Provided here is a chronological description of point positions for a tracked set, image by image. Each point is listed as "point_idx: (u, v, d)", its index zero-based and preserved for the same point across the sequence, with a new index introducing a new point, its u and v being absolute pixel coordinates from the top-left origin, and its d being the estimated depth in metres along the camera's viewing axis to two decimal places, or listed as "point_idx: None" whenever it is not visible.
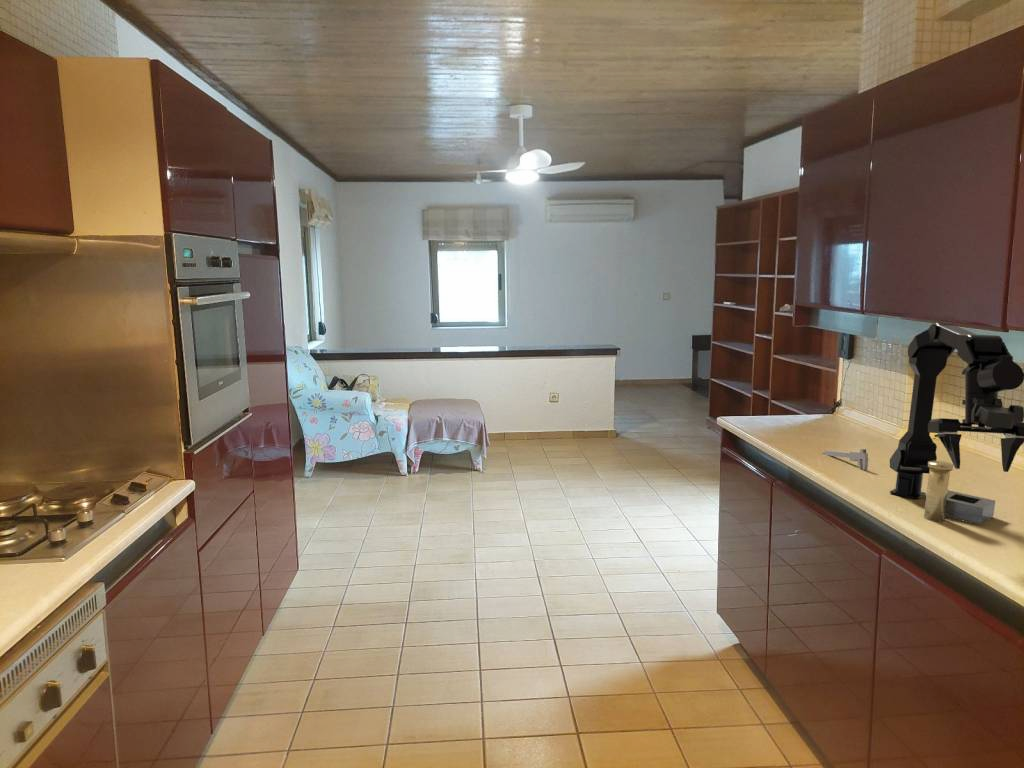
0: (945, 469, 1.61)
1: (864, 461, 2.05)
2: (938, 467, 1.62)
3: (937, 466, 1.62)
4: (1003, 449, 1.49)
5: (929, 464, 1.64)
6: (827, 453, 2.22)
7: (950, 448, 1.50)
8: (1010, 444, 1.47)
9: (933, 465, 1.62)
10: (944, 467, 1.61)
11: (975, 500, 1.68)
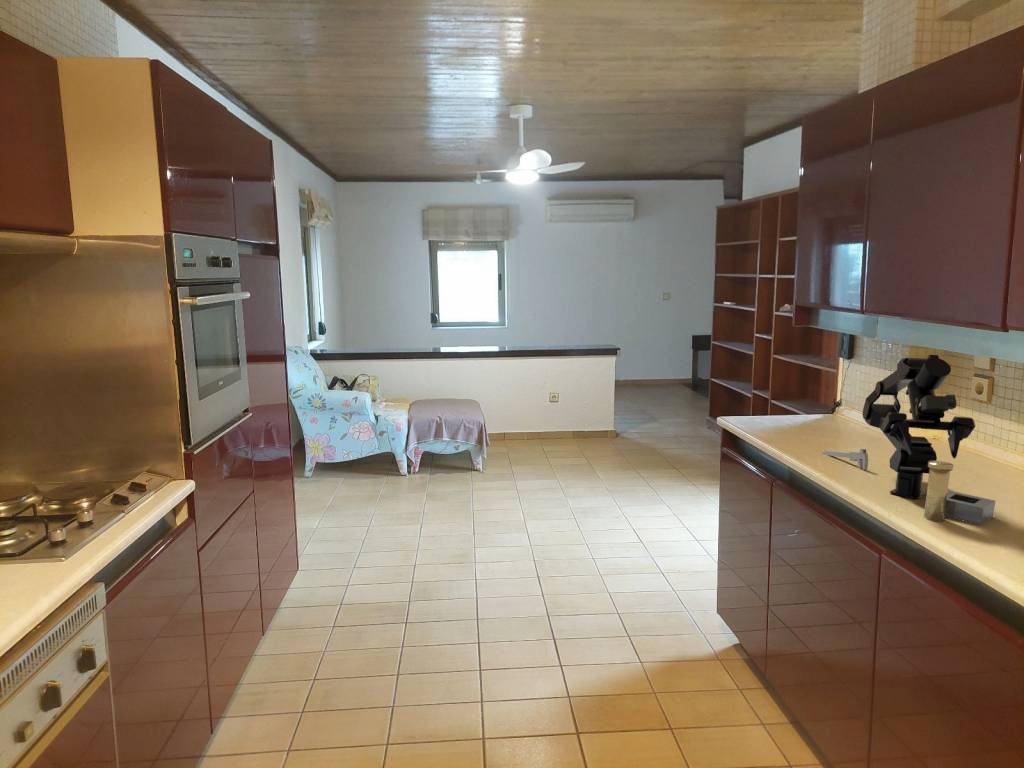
0: (945, 469, 1.61)
1: (864, 461, 2.05)
2: (938, 467, 1.62)
3: (937, 466, 1.62)
4: (950, 443, 1.71)
5: (929, 464, 1.64)
6: (827, 453, 2.22)
7: (903, 440, 1.72)
8: (954, 434, 1.69)
9: (933, 465, 1.62)
10: (944, 467, 1.61)
11: (975, 500, 1.68)
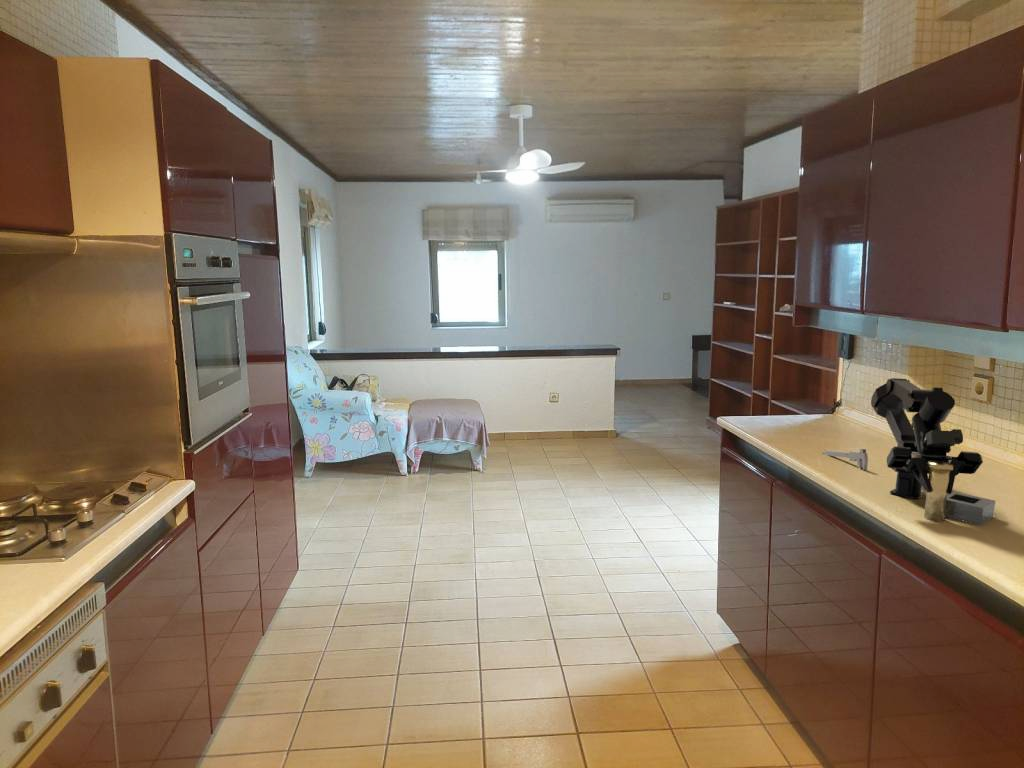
0: (945, 469, 1.61)
1: (864, 461, 2.05)
2: (938, 467, 1.62)
3: (937, 466, 1.62)
4: None
5: (929, 464, 1.64)
6: (827, 453, 2.22)
7: (919, 476, 1.66)
8: None
9: (933, 465, 1.62)
10: (944, 467, 1.61)
11: (975, 500, 1.68)
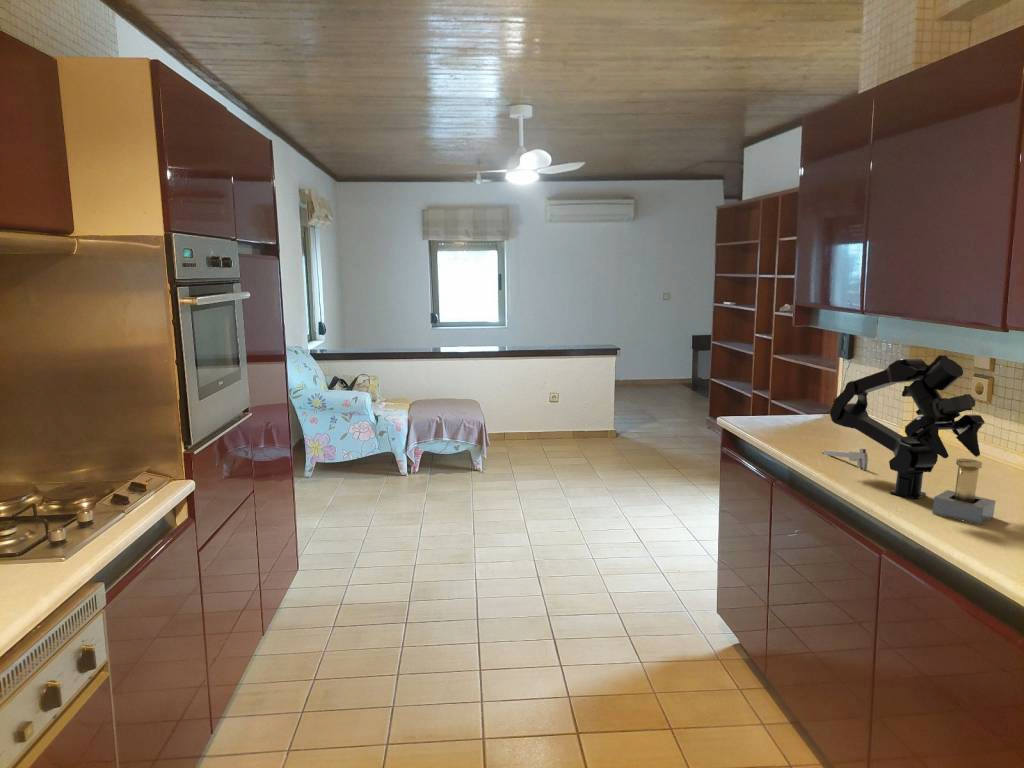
0: (979, 467, 1.64)
1: (864, 461, 2.05)
2: (973, 465, 1.64)
3: (972, 464, 1.64)
4: (964, 442, 1.73)
5: (962, 463, 1.65)
6: (826, 453, 2.22)
7: (932, 443, 1.69)
8: (969, 433, 1.71)
9: (968, 464, 1.64)
10: (978, 465, 1.64)
11: (975, 500, 1.68)
